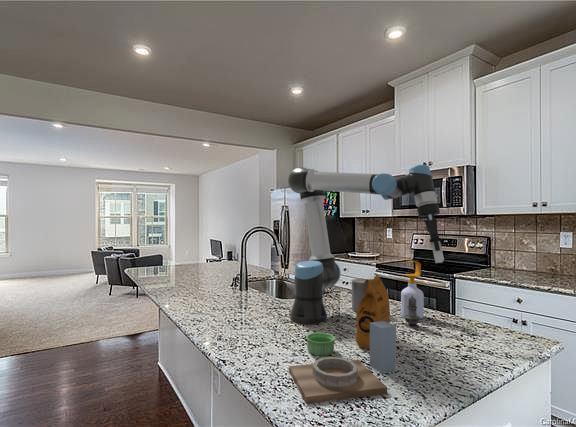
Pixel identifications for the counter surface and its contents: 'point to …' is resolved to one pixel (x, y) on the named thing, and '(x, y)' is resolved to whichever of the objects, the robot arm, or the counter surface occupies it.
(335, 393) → the collar plate
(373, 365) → the slate peg
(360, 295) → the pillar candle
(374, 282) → the coffee package
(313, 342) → the ramekin
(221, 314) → the counter surface
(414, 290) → the soap bottle
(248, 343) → the counter surface
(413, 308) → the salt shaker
